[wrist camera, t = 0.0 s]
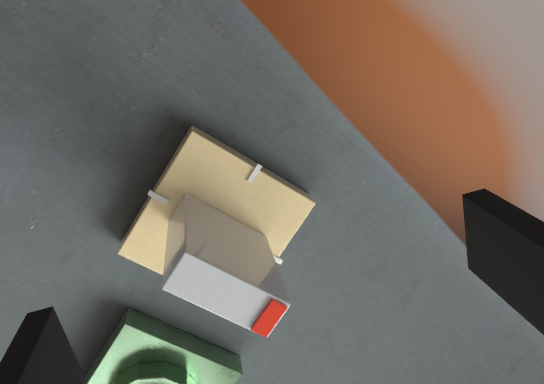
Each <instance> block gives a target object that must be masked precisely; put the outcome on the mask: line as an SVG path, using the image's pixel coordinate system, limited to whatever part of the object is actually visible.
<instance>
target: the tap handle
mask: <svg viewBox="0 0 544 384" xmlns="http://www.w3.org/2000/svg"><path fill="white" fill-rule="evenodd" d="M162 289H163V290H165V291H167V292H169V293H171V294H173V295H176V296H178V297H180V298H182V299H184V300H186V301H189V302H191V303H193V304H195V305H197V306H199V307H202V308H204V309H206V310H208V311H210V312H212V313H214V314H217V315H219V316H221V317H223V318H225V319H227V320H230V321H232V322H234V323H236V324H238V325H240V326H242V327H245V328H247V329H249V330H251V331H253V332H255V333H258V334H260V335H262V336H264V337H266V338H267V337H268V336H269V335H270V333H271V332H272V331H273V329H274V328H275V326H276V325H277V324H278V322H279V321H280V319H281V318H282V317H283V315H284V314H285V312H286V311H287V310H288V308H289V307H290V305H291V303H290V301H289V298H288V295H287V292H286V290H285V287H284V284H283V281H282V279H281V276H280V273H279V270H278V267H277V265H276V262H275V259H274V256H273V254H272V251H271V248H270V245H269V242H268V240H267V237H266V236H265V235H263V234H262V233H260V232H258V231H256V230H254V229H252V228H250V227H249V226H247V225H245V224H243V223H241V222H239V221H238V220H236V219H234V218H232V217H230V216H228V215H226V214H225V213H223V212H221V211H219V210H217V209H215V208H213V207H212V206H210V205H208V204H206V203H204V202H202V201H201V200H199V199H197V198H195V197H193V196H191V195H189V194H188V193H185V195H184V196H183V198H182V200H181V201H180V203H179V204H178V206H177V208H176V209H175V211H174V213H173V214H172V216H171V217H170V219H169V221H168V229H167V240H166V250H165V260H164V270H163V280H162Z"/></svg>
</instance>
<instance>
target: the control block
mask: <svg viewBox="0 0 544 384" xmlns="http://www.w3.org/2000/svg"><path fill="white" fill-rule="evenodd" d="M242 374H243V373H242V367H241V360H240V356H238V355H236V354H234V353H231V352H229V351H227V350H224V349H222V348H220V347H218V346H215V345H213V344H211V343H209V342H206V341H204V340H202V339H199V338H197V337H195V336H193V335H190V334H188V333H186V332H184V331H181V330H179V329H177V328H174V327H172V326H170V325H168V324H165V323H163V322H161V321H159V320H156V319H154V318H152V317H150V316H147V315H145V314H143V313H140V312H138V311H136V310H134V309H131V308H128V309H127V310H126V312H125V313H124V315H123V317H122V318H121V320H120V321H119V323H118V325H117V326H116V328H115V329H114V331H113V332H112V334H111V336H110V337H109V339H108V340H107V342H106V344H105V345H104V347H103V348H102V350H101V351H100V353H99V355H98V356H97V358H96V359H95V361H94V363H93V364H92V366H91V367H90V369H89V371H88V372H87V374H86V375H85V379H84V383H83V384H236V383H237V381H238V380H239V379H240V377H241V376H242Z"/></svg>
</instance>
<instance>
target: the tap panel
mask: <svg viewBox="0 0 544 384" xmlns="http://www.w3.org/2000/svg"><path fill="white" fill-rule="evenodd" d="M185 193H188V194H189V195H191V196H193V197H195V198H197V199H199V200H201V201H202V202H204V203H206V204H208V205H210V206H212V207H213V208H215V209H217V210H219V211H221V212H223V213H225V214H226V215H228V216H230V217H232V218H234V219H236V220H238V221H239V222H241V223H243V224H245V225H247V226H249V227H250V228H252V229H254V230H256V231H258V232H260V233H262V234H263V235H265V236H266V237H267V240H268V242H269V245H270V248H271V251H272V254H273V256H274V259H275V262H277V263H278V264H280V265H281V263H282V262H283V260H282V259H280V258H278V257H279V256H280V255H281V253H282V252H283V250H284V249H285V247H286V246H287V244H288V243H289V242H290V240H291V239H292V237H293V236H294V234H295V233H296V231H297V230H298V228H299V227H300V226H301V224H302V223H303V221H304V220H305V218H306V217H307V215H308V214H309V213H310V211H311V210H312V208H313V207H314V205H315V202H314V200H313V199H312V197H311V196H310V195H309V194H308V193H307V192H305V191H303V190H302V189H300V188H298V187H296V186H295V185H293V184H291V183H290V182H288V181H286V180H285V179H283V178H281V177H280V176H278V175H276V174H274V173H273V172H271V171H269V170H268V169H266V168H264V167H263V166H262V165H260V164H258V163H256V162H254V161H253V160H251V159H249V158H247V157H246V156H244V155H242V154H241V153H239V152H237V151H236V150H234V149H232V148H231V147H229V146H227V145H225V144H224V143H222V142H220V141H219V140H217V139H215V138H214V137H212V136H210V135H209V134H207V133H205V132H203V131H202V130H200V129H198V128H197V127H195V126H193V125H192V126H191V127H190V129H189V130H188V132H187V134H186V135H185V137H184V139H183V140H182V142H181V143H180V145H179V147H178V148H177V150H176V152H175V153H174V155H173V157H172V158H171V160H170V162H169V163H168V165H167V167H166V168H165V170H164V171H163V173H162V175H161V176H160V178H159V180H158V181H157V183H156V185H155V186H154V188H153V190H149V192H148V194H147V195H149V196H148V198H147V200H146V201H145V203H144V204H143V206H142V208H141V209H140V211H139V213H138V214H137V216H136V218H135V219H134V221H133V223H132V224H131V226H130V228H129V229H128V231H127V233H126V234H125V236H124V237H123V239H122V241H121V244H120V247H119V250H118V254H119V255H121V256H123V257H125V258H127V259H130V260H132V261H134V262H136V263H138V264H140V265H142V266H144V267H146V268H149V269H151V270H153V271H155V272H157V273H159V274H161V275H163V270H164V260H165V250H166V240H167V229H168V221H169V219H170V217H171V216H172V214H173V213H174V211H175V209H176V208H177V206H178V204H179V203H180V201H181V200H182V198H183V196H184V195H185Z"/></svg>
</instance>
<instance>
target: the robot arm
mask: <svg viewBox="0 0 544 384" xmlns="http://www.w3.org/2000/svg"><path fill="white" fill-rule="evenodd" d="M462 197H463V208H464V221H465V233H466V246H467V258H468V268H469V269H470V270H471V271H472V272H473V273H474V274H475V275H477V276H478V277H479V278H480V279H481V280H482V281H483V282H484V283H486V284H487V285H488V286H489V287H490V288H491V289H492V290H493V291H495V292H496V293H497V294H498V295H499V296H500V297H501V298H502V299H504V300H505V301H506V302H507V303H508V304H509V305H510V306H512V307H513V308H514V309H515V310H516V311H517V312H518V313H519V314H521V315H522V316H523V317H524V318H525V319H526V320H527V321H528V322H530V323H531V324H532V325H533V326H534V327H535V328H536V329H537V330H539V331H540V332H541V333H542V334H543V335H544V222H543V221H541V220H539V219H537V218H535V217H534V216H532V215H530V214H529V213H527V212H525V211H523V210H521V209H520V208H518V207H516V206H514V205H513V204H511V203H509V202H507V201H506V200H504V199H502V198H500V197H499V196H497V195H495V194H493V193H492V192H490V191H488V190H486V189H481V190H477V191H474V192H470V193H467V194H463V195H462ZM84 379H85V377H84V374H83V372H82V370H81V368H80V366H79V363H78V361H77V359H76V357H75V354H74V352H73V350H72V348H71V346H70V343H69V341H68V339H67V337H66V334H65V332H64V330H63V328H62V326H61V323H60V321H59V319H58V317H57V314H56V312H55V310H54V308H53V306H52V307H49V308H45V309H41V310H38V311H34V312H31V313H27V315H26V317H25V318H24V320H23V322H22V324H21V326H20V328H19V329H18V331H17V333H16V335H15V337H14V338H13V340H12V342H11V344H10V346H9V348H8V349H7V351H6V353H5V355H4V357H3V358H2V360H1V362H0V384H83V383H84Z"/></svg>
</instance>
